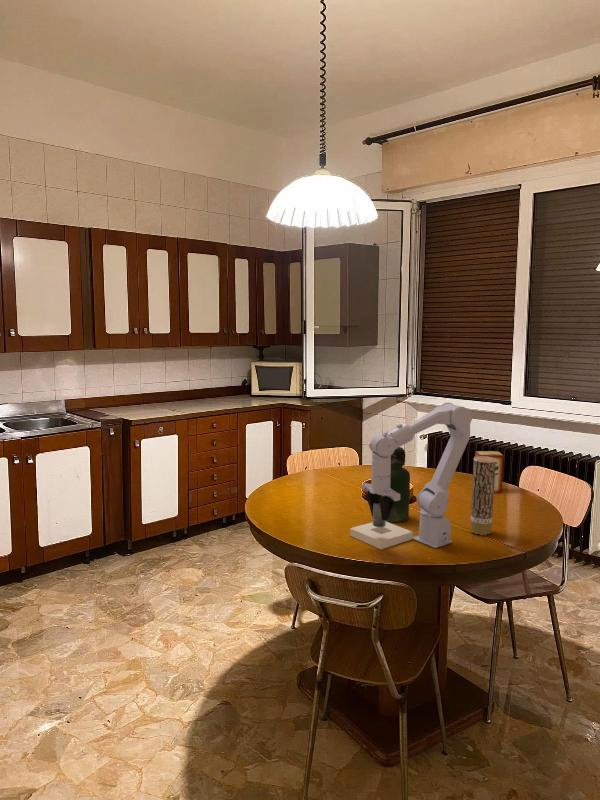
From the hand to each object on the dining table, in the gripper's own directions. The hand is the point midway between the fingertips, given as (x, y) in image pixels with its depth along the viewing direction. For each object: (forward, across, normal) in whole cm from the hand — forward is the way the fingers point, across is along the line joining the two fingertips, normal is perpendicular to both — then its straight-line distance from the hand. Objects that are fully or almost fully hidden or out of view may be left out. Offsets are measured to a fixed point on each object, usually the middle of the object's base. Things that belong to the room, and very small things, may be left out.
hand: (380, 517), depth 186 cm
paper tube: (+9, +12, +35) cm, 38 cm away
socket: (+9, -4, +5) cm, 11 cm away
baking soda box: (+9, -15, +77) cm, 79 cm away
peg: (+2, 0, 0) cm, 2 cm away
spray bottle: (+9, -15, +22) cm, 28 cm away
